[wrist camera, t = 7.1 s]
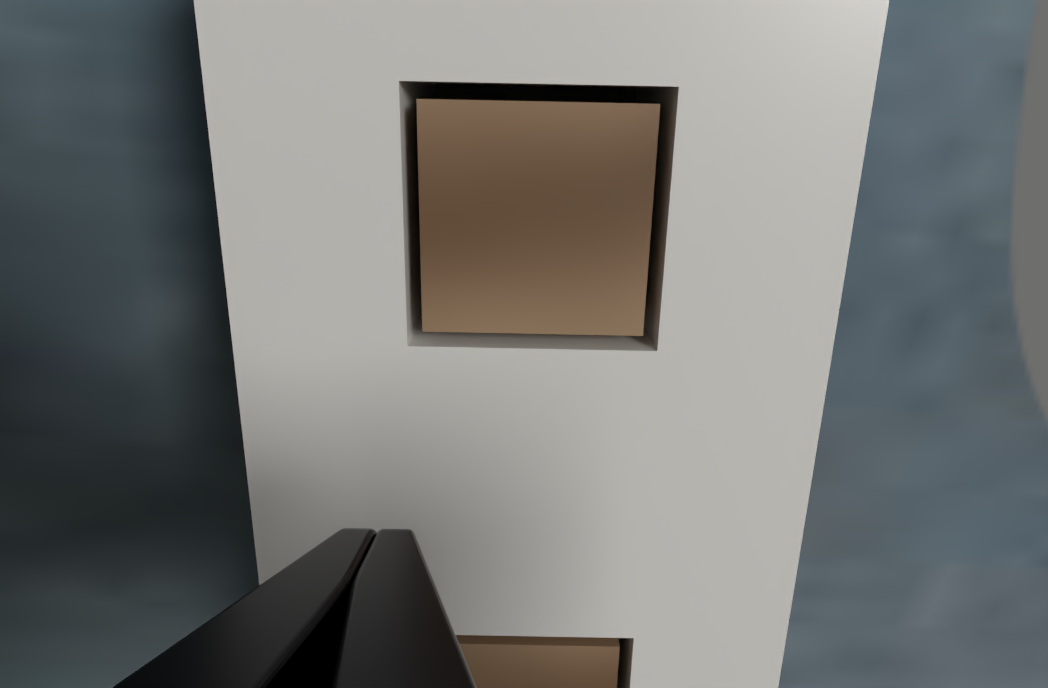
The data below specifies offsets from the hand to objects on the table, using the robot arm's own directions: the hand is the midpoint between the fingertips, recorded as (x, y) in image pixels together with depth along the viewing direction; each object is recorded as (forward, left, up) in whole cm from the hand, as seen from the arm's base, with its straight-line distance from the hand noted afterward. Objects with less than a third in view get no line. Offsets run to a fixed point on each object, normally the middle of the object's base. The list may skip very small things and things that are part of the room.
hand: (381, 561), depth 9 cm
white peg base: (-3, -2, -13) cm, 13 cm away
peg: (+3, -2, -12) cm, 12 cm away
